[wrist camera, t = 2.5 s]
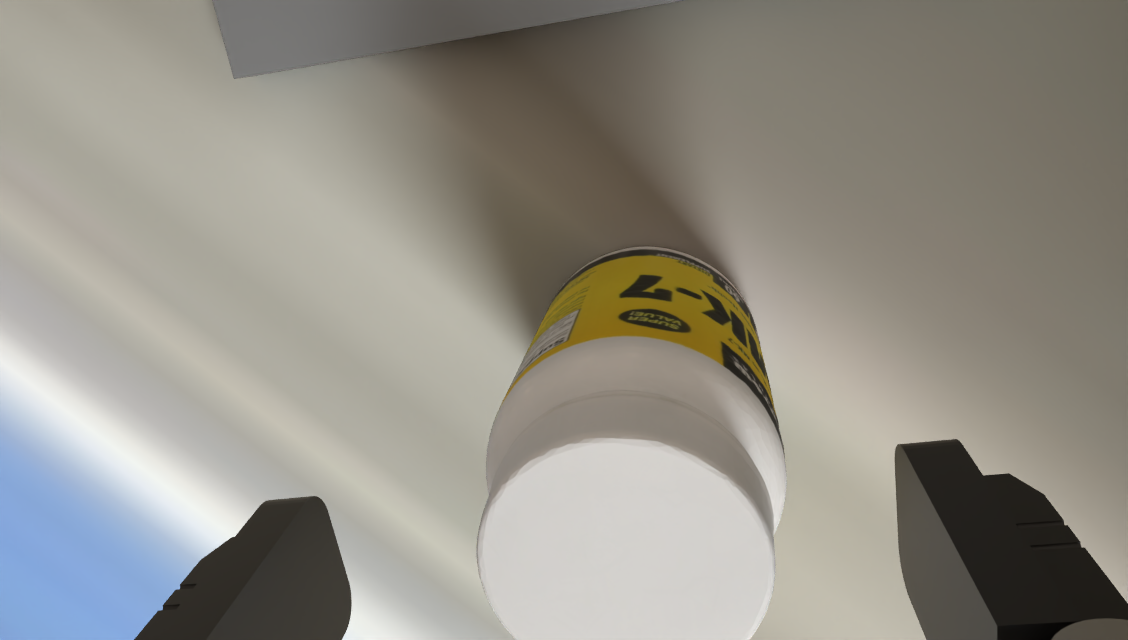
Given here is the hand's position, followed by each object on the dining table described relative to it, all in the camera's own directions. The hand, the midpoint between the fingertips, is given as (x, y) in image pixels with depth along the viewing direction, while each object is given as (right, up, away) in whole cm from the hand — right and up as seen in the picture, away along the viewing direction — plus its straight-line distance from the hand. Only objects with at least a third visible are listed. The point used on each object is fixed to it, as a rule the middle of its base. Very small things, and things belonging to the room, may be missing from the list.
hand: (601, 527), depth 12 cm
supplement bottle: (+1, +2, +7) cm, 8 cm away
